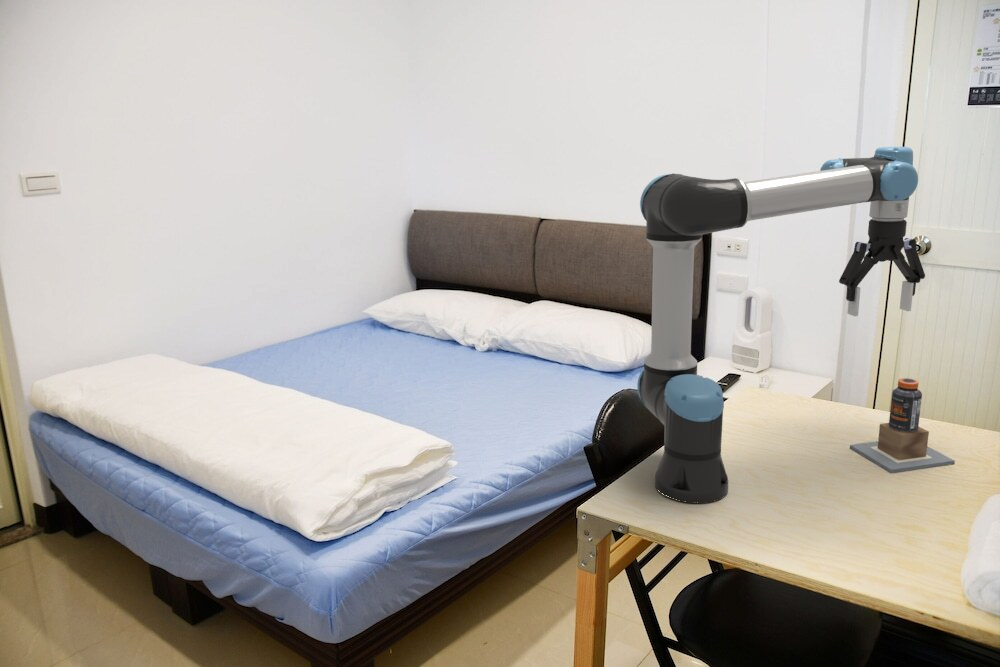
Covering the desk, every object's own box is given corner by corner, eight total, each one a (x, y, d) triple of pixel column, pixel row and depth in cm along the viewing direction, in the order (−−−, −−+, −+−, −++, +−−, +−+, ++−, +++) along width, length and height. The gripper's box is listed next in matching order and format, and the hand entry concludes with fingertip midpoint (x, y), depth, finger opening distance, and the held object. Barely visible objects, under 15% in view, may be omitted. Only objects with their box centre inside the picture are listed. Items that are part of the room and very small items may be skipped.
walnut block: (898, 460, 173) (901, 435, 171) (877, 448, 180) (879, 423, 178) (926, 456, 174) (928, 431, 173) (903, 444, 181) (906, 420, 179)
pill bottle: (882, 426, 177) (887, 378, 174) (900, 421, 179) (905, 374, 176) (905, 434, 171) (911, 386, 169) (924, 429, 174) (929, 381, 171)
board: (891, 473, 169) (891, 469, 169) (849, 448, 182) (850, 444, 182) (954, 463, 172) (954, 460, 172) (909, 440, 185) (909, 436, 185)
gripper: (848, 224, 165) (840, 321, 171) (949, 217, 170) (938, 311, 176) (827, 220, 172) (820, 313, 178) (924, 213, 177) (914, 304, 183)
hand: (879, 312), depth 177 cm, fingers open, 13 cm apart
